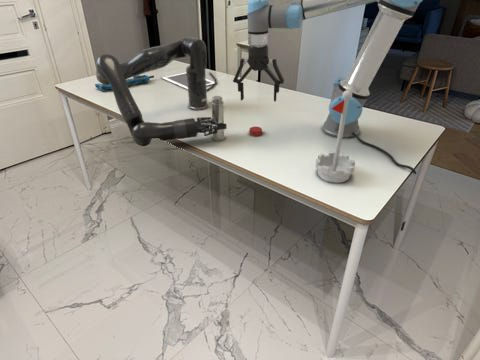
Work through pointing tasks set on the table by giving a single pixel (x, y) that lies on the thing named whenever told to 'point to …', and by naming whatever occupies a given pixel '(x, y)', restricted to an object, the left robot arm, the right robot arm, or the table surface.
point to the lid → (255, 131)
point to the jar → (217, 116)
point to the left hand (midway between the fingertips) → (224, 123)
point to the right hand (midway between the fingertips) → (258, 99)
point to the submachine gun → (135, 80)
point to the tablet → (183, 80)
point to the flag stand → (337, 151)
